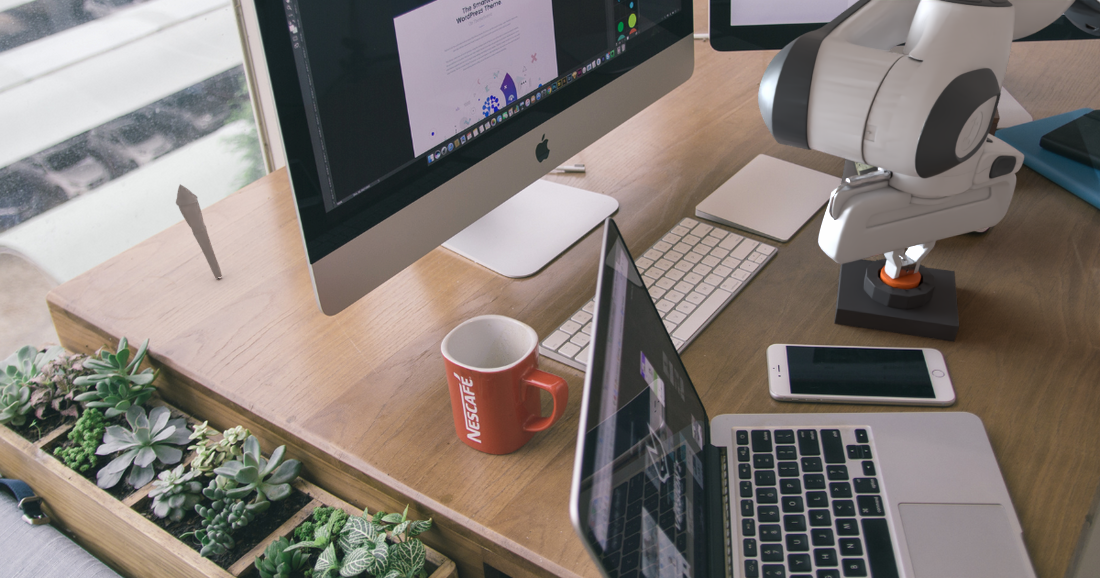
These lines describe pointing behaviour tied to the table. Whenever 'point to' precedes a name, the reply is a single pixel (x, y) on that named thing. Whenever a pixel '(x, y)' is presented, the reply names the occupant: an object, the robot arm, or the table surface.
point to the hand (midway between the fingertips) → (900, 273)
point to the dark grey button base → (897, 302)
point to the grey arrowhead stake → (197, 225)
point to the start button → (901, 280)
